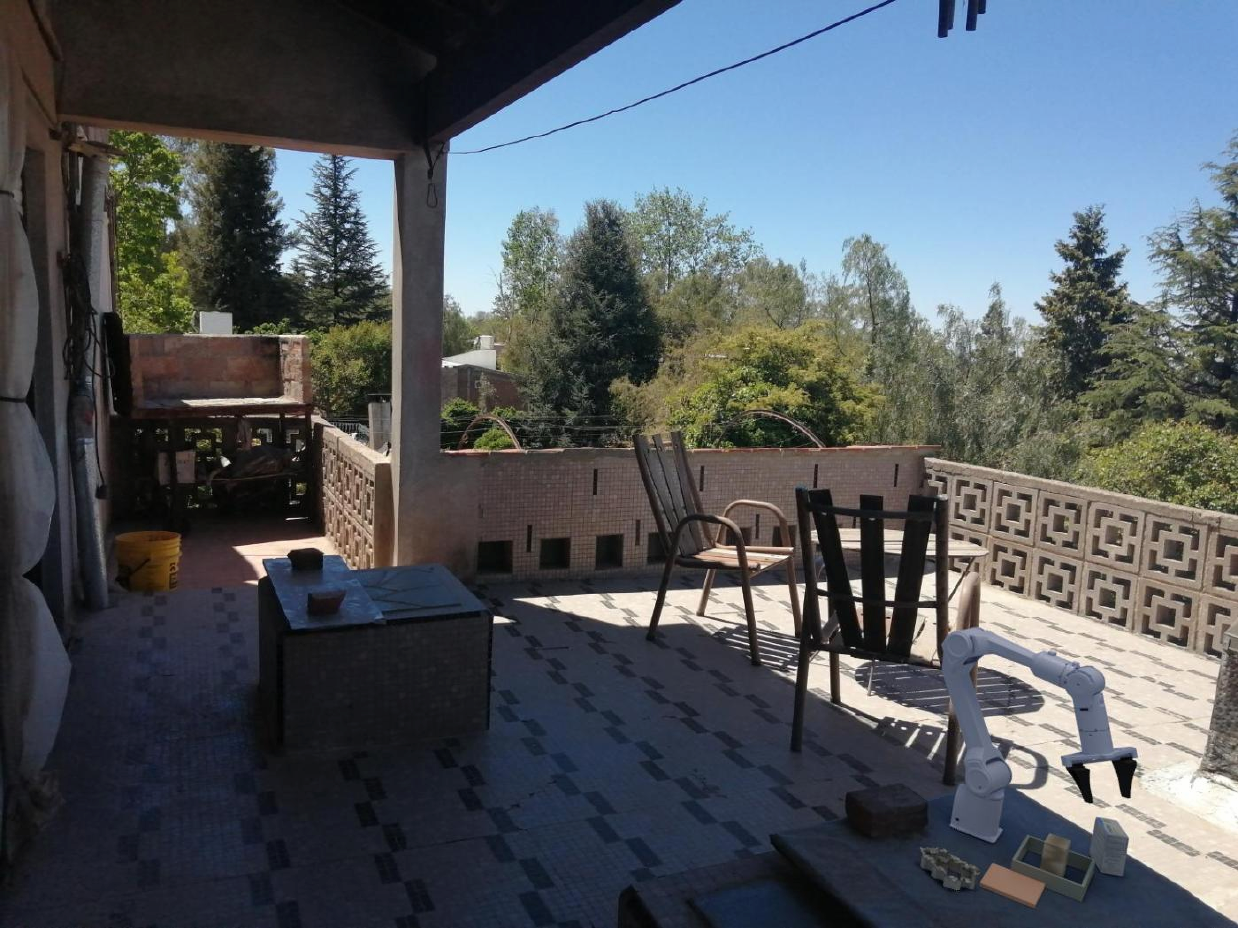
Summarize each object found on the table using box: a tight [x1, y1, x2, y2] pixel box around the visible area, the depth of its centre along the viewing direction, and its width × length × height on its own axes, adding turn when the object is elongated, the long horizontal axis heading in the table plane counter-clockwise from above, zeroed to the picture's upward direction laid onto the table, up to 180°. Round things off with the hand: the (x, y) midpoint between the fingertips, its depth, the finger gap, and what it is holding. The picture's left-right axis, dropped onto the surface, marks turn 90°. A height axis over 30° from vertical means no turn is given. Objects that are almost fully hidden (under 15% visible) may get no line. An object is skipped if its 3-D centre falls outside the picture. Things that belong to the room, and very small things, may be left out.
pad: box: [979, 863, 1046, 909], centre depth 179 cm, size 10×10×1 cm
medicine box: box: [1088, 816, 1130, 878], centre depth 192 cm, size 8×4×9 cm, turn 169°
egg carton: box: [919, 846, 981, 892], centre depth 180 cm, size 11×8×4 cm
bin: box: [1009, 834, 1096, 903], centre depth 186 cm, size 13×14×3 cm
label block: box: [1039, 833, 1072, 878], centre depth 186 cm, size 4×5×7 cm
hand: (1107, 799), depth 181 cm, fingers open, 7 cm apart
